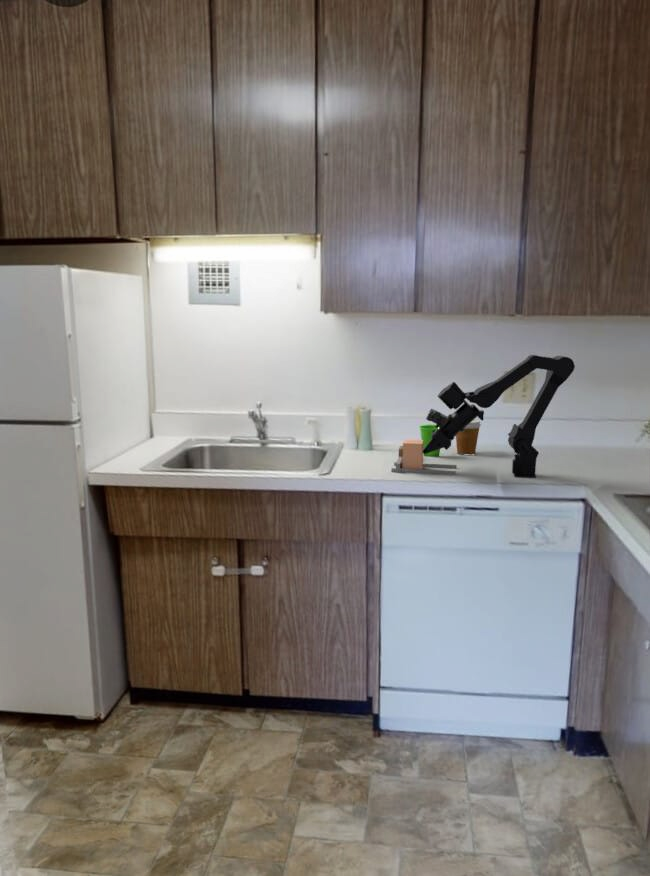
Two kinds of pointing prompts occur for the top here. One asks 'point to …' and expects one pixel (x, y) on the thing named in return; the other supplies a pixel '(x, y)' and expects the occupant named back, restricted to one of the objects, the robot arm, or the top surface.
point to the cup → (428, 438)
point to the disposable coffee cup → (468, 438)
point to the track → (400, 464)
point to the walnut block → (401, 451)
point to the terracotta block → (413, 454)
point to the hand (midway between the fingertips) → (423, 452)
